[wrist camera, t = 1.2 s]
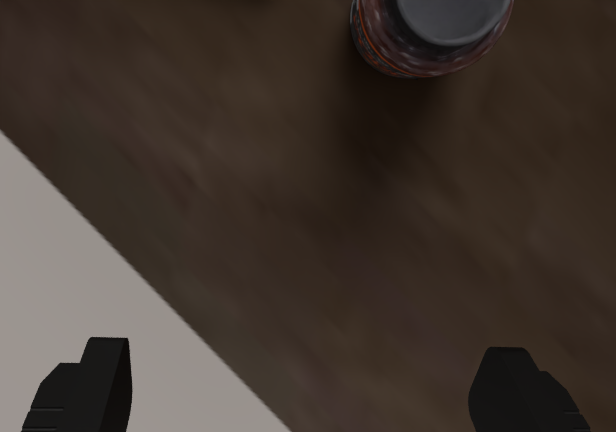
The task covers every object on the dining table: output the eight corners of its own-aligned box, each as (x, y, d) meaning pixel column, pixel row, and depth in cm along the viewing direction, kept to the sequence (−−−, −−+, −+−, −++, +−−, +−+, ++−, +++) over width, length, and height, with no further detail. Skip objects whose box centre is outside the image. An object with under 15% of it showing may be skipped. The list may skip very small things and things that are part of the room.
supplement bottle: (326, 35, 29) (327, 4, 18) (394, -63, 28) (439, -163, 17) (413, 101, 29) (466, 109, 18) (483, 8, 28) (584, -43, 17)
